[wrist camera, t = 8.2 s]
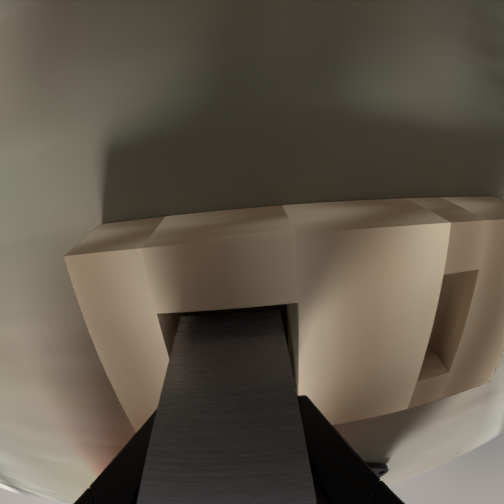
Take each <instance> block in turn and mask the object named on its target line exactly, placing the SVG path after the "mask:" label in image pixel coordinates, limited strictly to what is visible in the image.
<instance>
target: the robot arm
mask: <svg viewBox="0 0 504 504" xmlns="http://www.w3.org/2000/svg"><path fill="white" fill-rule="evenodd" d="M297 399H298V404H299V409H300V415H301V420H302V425H303V430H304V436H305V441H306V446H307V452H308V457H309V463H310V468H311V474H312V479H313V485H314V490H315V496H316V502H317V504H405V503H403V501H402V500H400V498H398V497H397V496H396V495H395V494H394V493H393V492H392V491H391V490H390V489H389V488H388V486H387V485H386V484H385V483H384V482H383V481H380V477H381V476H383V475H384V474H385V473H387V472H388V467H387V465H380V464H366V463H365V462H364V461H363V459H362V458H361V457H360V456H359V455H358V454H357V453H356V452H355V451H354V449H353V448H352V447H351V446H350V445H349V444H348V443H347V442H346V440H345V439H344V438H343V437H342V436H341V435H340V434H339V432H338V431H337V430H336V429H335V428H334V427H333V426H332V424H331V423H330V422H329V421H328V420H327V419H326V417H325V416H324V415H323V414H322V413H321V412H320V410H319V409H318V408H317V407H316V406H315V405H314V403H313V402H312V401H311V400H310V399H309V397H308V396H306V395H299V396H297ZM156 411H157V409H156V410H155V411H154V412H153V414H152V415H151V416H150V417H149V418H148V420H147V421H146V422H145V423H144V424H143V425H142V427H141V428H140V429H139V430H138V431H137V432H136V434H135V435H134V436H133V437H132V438H131V439H130V441H129V442H128V443H127V444H126V445H125V446H124V448H123V449H122V450H121V451H120V452H119V453H118V455H117V456H116V457H115V458H114V459H113V460H112V461H111V463H110V464H109V465H108V466H107V467H106V468H105V469H104V471H103V472H102V473H101V474H100V475H99V476H98V477H97V479H96V480H95V481H94V482H93V483H92V484H91V485H90V489H89V488H88V489H87V490H86V491H85V492H84V493H83V494H82V495H81V496H80V497H79V499H78V500H77V501H76V502H75V503H74V504H137V499H138V494H139V489H140V484H141V479H142V474H143V470H144V465H145V460H146V455H147V451H148V446H149V442H150V437H151V433H152V429H153V424H154V420H155V416H156Z"/></svg>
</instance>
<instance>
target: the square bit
mask: <svg viewBox="0 0 504 504" xmlns="http://www.w3.org/2000/svg"><path fill="white" fill-rule="evenodd" d="M137 504H317V502H316V496H315V490H314V485H313V479H312V474H311V468H310V463H309V457H308V452H307V446H306V441H305V436H304V430H303V425H302V420H301V415H300V409H299V404H298V399H297V394H296V389H295V383H294V378H293V373H292V368H291V363H290V358H289V353H288V348H287V343H286V338H285V333H284V328H283V323H282V318H281V313H280V309H277V310H267V311H256V312H244V313H232V314H218V315H204V316H188V317H181V318H180V322H179V326H178V329H177V333H176V337H175V340H174V344H173V348H172V352H171V355H170V359H169V363H168V367H167V371H166V375H165V379H164V383H163V387H162V391H161V395H160V399H159V403H158V407H157V411H156V416H155V420H154V424H153V429H152V433H151V437H150V442H149V446H148V451H147V455H146V460H145V465H144V470H143V474H142V479H141V484H140V489H139V494H138V499H137Z"/></svg>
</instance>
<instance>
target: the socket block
mask: <svg viewBox="0 0 504 504" xmlns="http://www.w3.org/2000/svg"><path fill="white" fill-rule="evenodd" d="M64 259H65V262H66V266H67V269H68V273H69V276H70V279H71V282H72V285H73V289H74V292H75V295H76V298H77V301H78V304H79V306H80V309H81V312H82V315H83V318H84V320H85V323H86V326H87V328H88V331H89V334H90V336H91V339H92V341H93V344H94V346H95V349H96V351H97V353H98V356H99V358H100V360H101V363H102V365H103V367H104V370H105V372H106V374H107V376H108V378H109V381H110V383H111V385H112V387H113V389H114V391H115V393H116V395H117V397H118V399H119V401H120V403H121V405H122V407H123V409H124V411H125V413H126V415H127V417H128V419H129V421H130V423H131V425H132V426H133V428H134V430H135V432H137V431H138V430H139V429H140V428H141V427H142V425H143V424H144V423H145V422H146V421H147V420H148V418H149V417H150V416H151V415H152V414H153V412H154V411H155V410H156V409H157V407H158V403H159V399H160V395H161V391H162V387H163V383H164V379H165V375H166V371H167V367H168V363H169V359H170V355H171V352H172V348H173V344H174V340H175V337H176V333H177V329H178V326H179V322H180V318H181V317H185V316H184V312H193V311H208V310H222V309H235V308H247V307H259V306H270V305H280V304H287V334H288V347H287V348H288V353H289V358H290V363H291V368H292V373H293V378H294V383H295V389H296V394H297V396H299V395H306V396H308V397H309V399H310V400H311V401H312V402H313V403H314V405H315V406H316V407H317V408H318V409H319V410H320V412H321V413H322V414H323V415H324V416H325V417H326V419H327V420H328V421H329V422H330V423H331V424H332V425H338V424H344V423H349V422H354V421H359V420H364V419H369V418H373V417H378V416H382V415H386V414H390V413H394V412H398V411H402V410H406V409H409V408H413V407H417V406H420V405H423V404H427V403H430V402H433V401H437V400H440V399H443V398H446V397H449V396H452V395H455V394H458V393H460V392H463V391H466V390H469V389H471V388H474V387H477V386H479V385H482V384H484V383H487V382H489V381H490V380H491V378H492V375H493V373H494V371H495V369H496V367H497V364H498V362H499V360H500V357H501V355H502V352H503V350H504V201H503V200H501V199H498V198H496V197H431V198H400V199H376V200H356V201H338V202H322V203H307V204H293V205H280V206H267V207H255V208H243V209H232V210H222V211H211V212H201V213H192V214H182V215H173V216H164V217H156V218H147V219H139V220H131V221H123V222H115V223H108V224H101V225H100V226H99V227H98V228H97V229H95V230H94V231H93V232H92V233H90V234H89V235H88V236H87V237H86V238H84V239H83V240H82V241H81V242H80V243H78V244H77V245H76V246H75V247H74V248H73V249H71V250H70V251H69V252H68V253H67V254H66V255H64Z"/></svg>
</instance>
